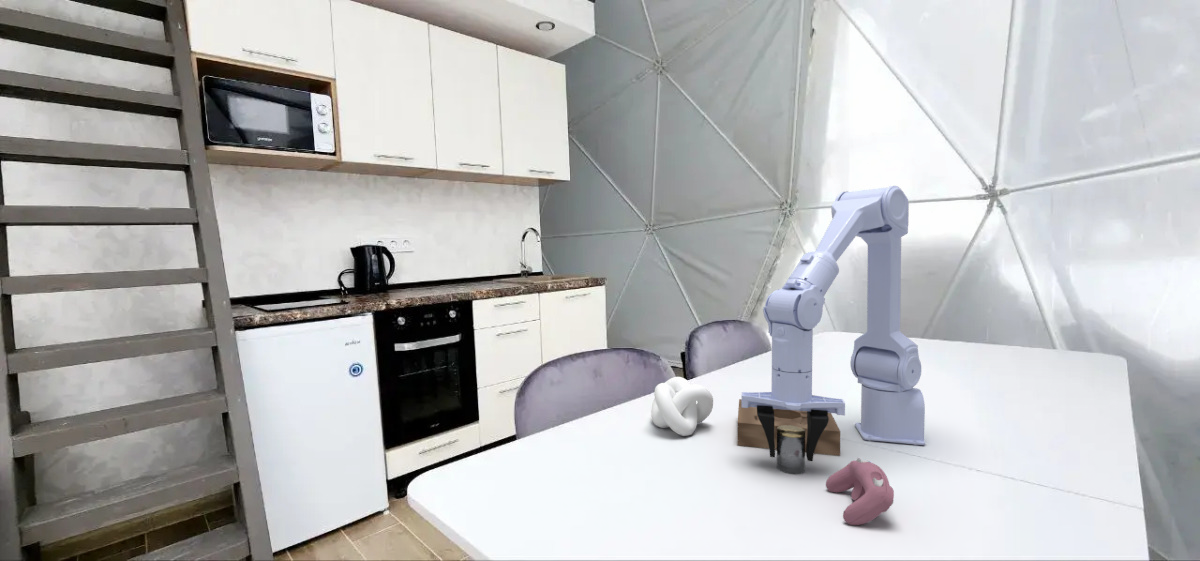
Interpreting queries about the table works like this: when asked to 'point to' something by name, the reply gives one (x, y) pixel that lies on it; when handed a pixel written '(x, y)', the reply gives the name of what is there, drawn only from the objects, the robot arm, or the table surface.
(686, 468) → the table surface
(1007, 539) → the table surface
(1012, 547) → the table surface
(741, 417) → the jig
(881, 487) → the video game controller
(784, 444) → the brass capped cylinder
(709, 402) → the white knot sculpture
